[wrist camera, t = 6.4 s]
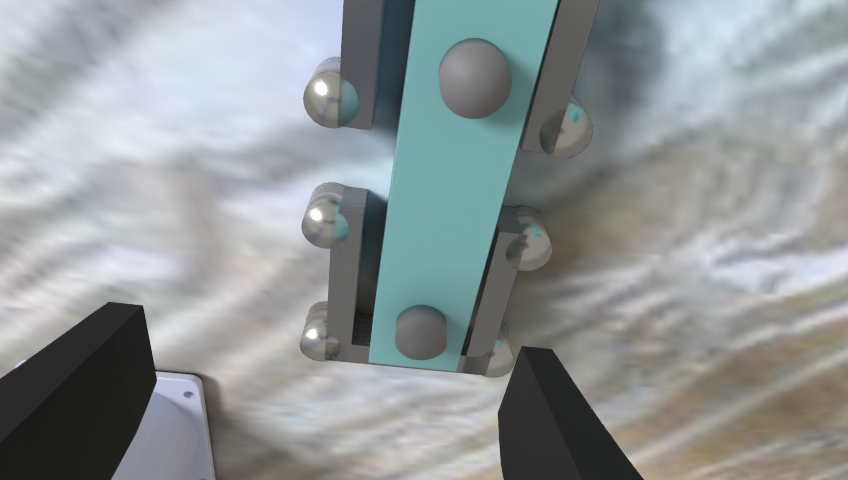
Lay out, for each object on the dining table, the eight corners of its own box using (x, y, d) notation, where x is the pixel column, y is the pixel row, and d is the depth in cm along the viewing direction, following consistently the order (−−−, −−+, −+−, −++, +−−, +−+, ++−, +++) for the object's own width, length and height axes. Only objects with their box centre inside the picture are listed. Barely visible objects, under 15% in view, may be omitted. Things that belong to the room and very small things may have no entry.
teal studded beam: (450, 287, 22) (457, 390, 17) (377, 279, 21) (366, 381, 17) (526, -35, 15) (568, -2, 11) (422, -53, 15) (422, -27, 10)
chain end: (503, 347, 23) (508, 379, 22) (307, 327, 23) (299, 359, 21) (547, 209, 19) (557, 236, 18) (311, 179, 19) (301, 205, 17)
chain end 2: (569, 138, 18) (583, 161, 16) (313, 103, 17) (303, 124, 15) (651, -117, 14) (679, -118, 12) (320, -176, 13) (307, -185, 12)
